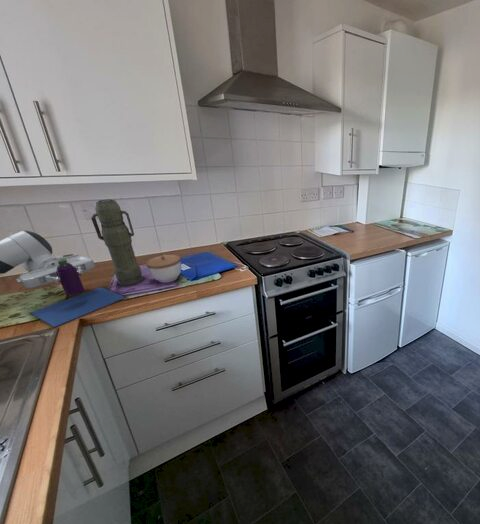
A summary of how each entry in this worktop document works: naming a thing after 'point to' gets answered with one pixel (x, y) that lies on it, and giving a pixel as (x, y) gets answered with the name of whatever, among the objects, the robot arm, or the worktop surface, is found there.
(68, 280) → the purple bottle
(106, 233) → the thermos
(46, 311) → the napkin
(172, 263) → the lidded bowl
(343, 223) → the worktop surface
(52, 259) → the robot arm
